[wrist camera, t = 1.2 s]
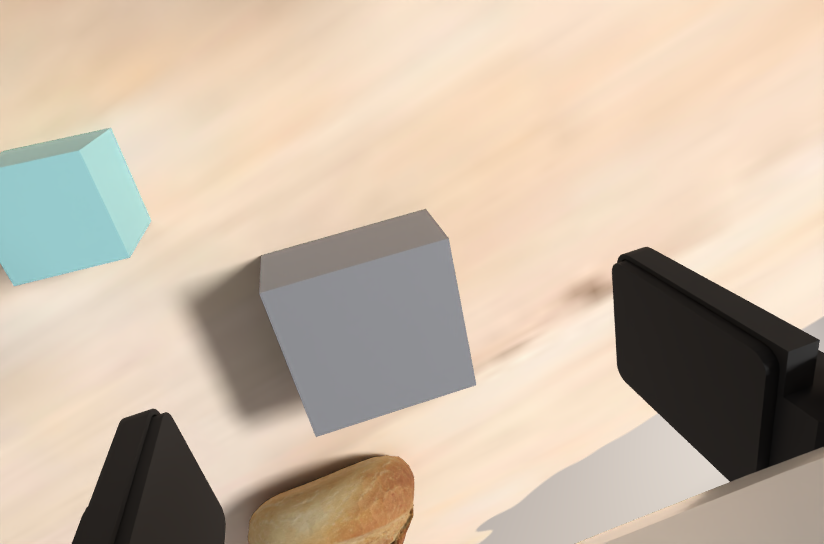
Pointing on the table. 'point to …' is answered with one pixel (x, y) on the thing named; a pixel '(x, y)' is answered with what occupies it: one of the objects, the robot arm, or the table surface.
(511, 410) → the table surface
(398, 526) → the bread roll
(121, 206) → the teal cube
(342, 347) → the gray block
